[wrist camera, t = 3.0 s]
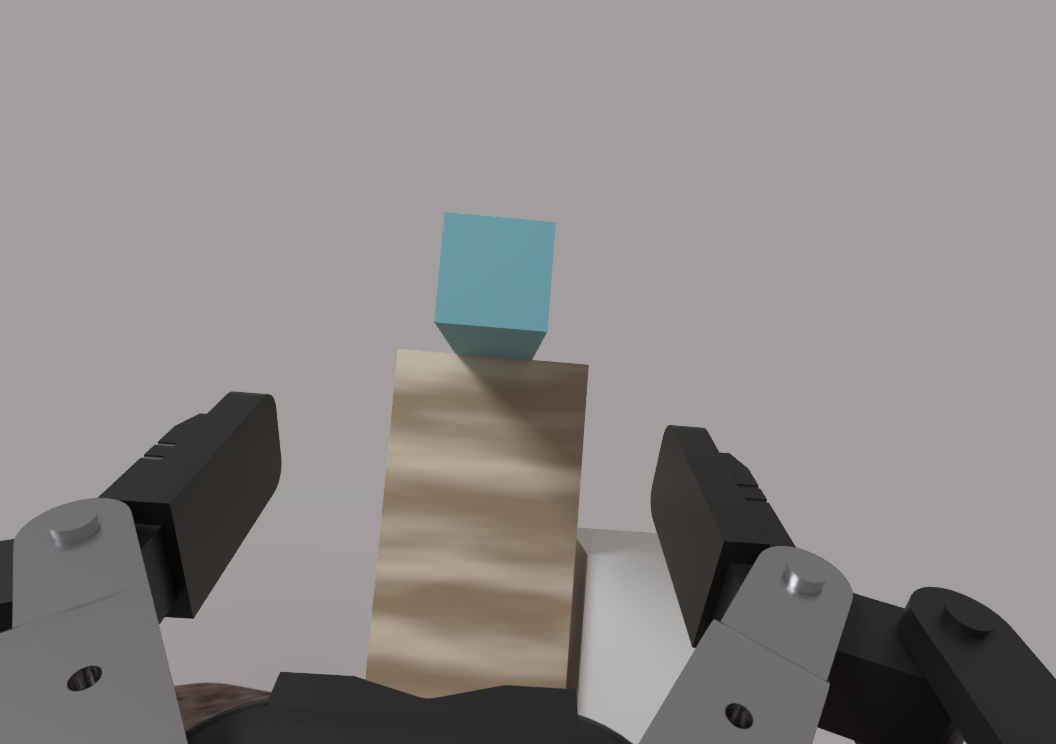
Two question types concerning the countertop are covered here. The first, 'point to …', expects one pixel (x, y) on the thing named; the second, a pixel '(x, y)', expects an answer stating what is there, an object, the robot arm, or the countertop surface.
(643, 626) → the white block
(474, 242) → the teal bar
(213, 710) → the countertop surface
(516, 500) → the maple stand
